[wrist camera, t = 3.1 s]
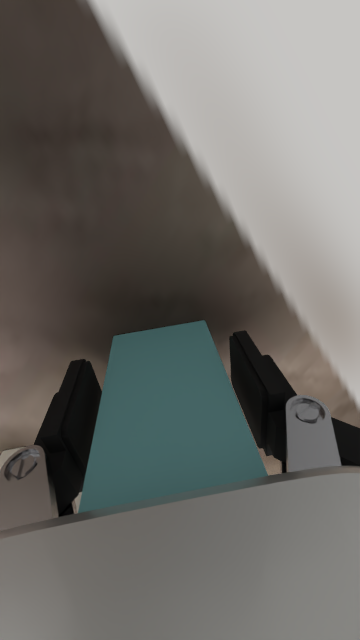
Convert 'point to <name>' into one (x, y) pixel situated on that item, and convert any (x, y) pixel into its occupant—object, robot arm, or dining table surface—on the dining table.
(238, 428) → the domino
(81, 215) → the dining table surface
